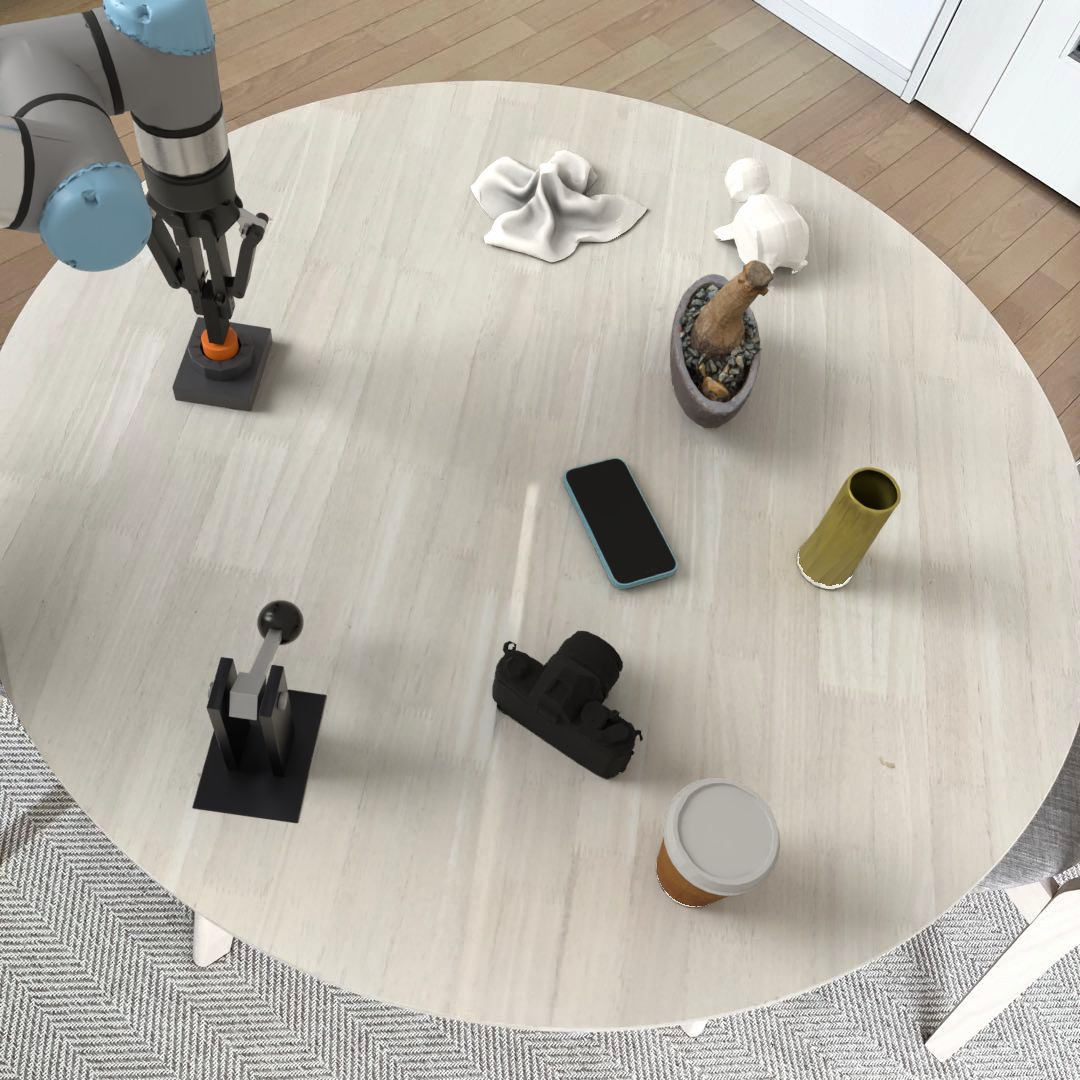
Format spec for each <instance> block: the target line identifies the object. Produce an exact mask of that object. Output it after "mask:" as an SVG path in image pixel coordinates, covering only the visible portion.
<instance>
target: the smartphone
mask: <svg viewBox="0 0 1080 1080" xmlns="http://www.w3.org/2000/svg"><path fill="white" fill-rule="evenodd" d="M563 484H564V487H565V489H566V491H567V493H568V495H569V497H570V499H571V501H572V503H573V505H574V508H575V509H576V511H577V513H578V515H579V517H580V520H581V522H582V524H583V527H584V528H585V530H586V532H587V534H588V536H589V539H590V541H591V543H592V545H593V547H594V549H595V551H596V553H597V555H598V557H599V559H600V562H601V564H602V565H603V567H604V570H605V572H606V574H607V576H608V578H609V581H610V582H611V584H612V585H613V586H614V587H615V588H617V589H619V590H628V589H630V588H634V587H637V586H641V585H643V584H647V583H650V582H653V581H657V580H658V581H659V580H660V579H664V578H668V577H671V576H673V575H674V574H675V573H676V571H677V568H678V561H677V558H676V556H675V554H674V552H673V550H672V549H671V546H670V544H669V543H668V541H667V539H666V537H665V535H664V533H663V531H662V530H661V528H660V525H659V523H658V522H657V520H656V518H655V515H654V514H653V512H652V510H651V508H650V507H649V505H648V503H647V500H646V499H645V497H644V495H643V492H642V491H641V489H640V487H639V485H638V483H637V481H636V479H635V477H634V476H633V474H632V471H631V470H630V468H629V465H628V464H627V463H626V460H625V461H624V459H623V458H620V457H610V458H607V459H603V460H599V461H595V462H592V463H587V464H584V465H580V466H576V467H572V468H569V469H567V470H566V471H565V472H564V475H563Z"/></svg>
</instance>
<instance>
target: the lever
mask: <svg viewBox="0 0 1080 1080" xmlns="http://www.w3.org/2000/svg"><path fill="white" fill-rule="evenodd" d="M304 625H305V619H304V615H303V613H302V611H301V609H300V608H299V606H297V605H296V604H295V603H294V602H292V601H289V600H286V599H276V600H273V601H270V602H268V603H266V604H265V605H264V606H263V607H262V609H261V610H260V611H259V613H258V616H257V620H256V626H257V631H258V633H259V635H260V637H261V638H262V639H263V641H262V644H261V647H260V648H259V651H258V653H257V655H256V657H255V659H254V662H253V664H252V666H251V668H250V671H249V672H244V671H239V672H238V673H237V675H238V676H237V678H236V680H235V682H234V684H233V686H232V688H231V691H230V702H229V716H230V717H237V718H244V719H251V720H257V718H258V716H259V711H260V707H261V703H262V699H263V696H264V692H265V688H266V684H267V680H268V675H267V674H268V672H269V670H270V668H271V665H272V663H273V660H274V658H275V655H276V653H277V651H278V649H279V646H286V645H290V644H292V643H294V641H296V640H297V639H298V638H299V637H300V636H301V634H302V632H303V631H304Z"/></svg>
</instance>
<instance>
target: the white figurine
mask: <svg viewBox="0 0 1080 1080" xmlns="http://www.w3.org/2000/svg"><path fill="white" fill-rule="evenodd" d="M724 185H725V189H726V191H727V192H728V194H729V197H730V200H731V202H732V203H736V204H742V205H741V206H740V208H739V209H738V211H737V212H736V214H735V215H734V219H733V221H732V222H729V224H725V225H722V226H719V227H718V228H716V229H714V231H713V232H714V233H715V234H716V235H717V236H718V238H720V239H721V240H720V241H724V242H725V241H730V240H734V243H735V246H736V248H737V252H738V257H739V259H740V260H741V262H742V263H743V264H744V265H746V264H747V263H749V262H750V261H753V260H757V261H759V262H762V263H764V264H766V265H767V267H768V268H769V269H770V271H771V273H772V275H773V276H774V271H775V270H776V269H777V268H779V267H780V268H781V267H783V268H791V271H792V270H793V271H794V272H795V271H799V270H800V271H802V270H803V268H804V267H805V266H807V265H808V263H809V262H808V261H807V260H806V259H805V258H806V257H807V256H808V253H809V245H810V244H809V243H810V242H809V241H810V229H809V225H808V224H807V222H806V220H805V219H804V217H802V215H801V214H799V212H798V211H797V210H796V208H795V206H794V205H793V204H791V203H790V202H789V201H787V200H786V199H785V198H784V197H783V196H780V195H775V194H770V193H766V192H767V191H768V189H769V187H770V185H771V180H770V173H769V170H768V167H767V164H766V163H765V162H764V161H763V160H762V159H759V158H757V157H756V158H755V157H744V158H743V157H742V158H740V159H738V160H736V161H734V162H733V163H732V164H731V165H730V166H729V168H728V169H727V171H726V174H725V177H724ZM714 233H713V234H714ZM800 271H799V272H800Z"/></svg>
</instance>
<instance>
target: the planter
mask: <svg viewBox="0 0 1080 1080" xmlns="http://www.w3.org/2000/svg"><path fill="white" fill-rule="evenodd" d="M773 280H775V278H774V274H773V275H772V273H771V271H770V269H769V268H768V267H767V265H766V264H764V263H762V262H759V261H757V260H753V261H750V262H749V263H747V264H744V265H743V269H742V271H740V272H739V273H737V274H736V275H735V276H734V277H732V279H730V280H728V279H727V278H726V277H725V276H724V275H720V274H717V273H710V274H706V275H704V276H702V277H700V278H699V279H697V280H695V281H694V283H693V284H692V285H690V286H689V287H688V288H687V289H686V291H684V293H683V295H682V296H681V298H680V300H679V303H678V306H677V307H676V310H675V313H674V317H673V322H672V326H671V327H672V328H671V334H670V335H671V336H670V348H669V364H670V376H671V378H670V379H671V383H672V388H673V392H674V395H675V398H676V400H677V402H678V404H679V406H680V407H681V409H682V411H683V412H684V414H685V415H686V416H687V417H688V419H690V420H691V421H692V422H693V423H695V424H697V425H698V426H701V427H702V428H704V429H708V430H713V429H717V428H719V427H722V426H723V425H724V426H725V424H727V423H729V422H730V421H732V419H734V418H735V417H736V416H737V415H738V414H739V413H740V412H741V410H742V408H743V407H744V406H745V405H746V402H747V401H748V399H749V397H750V395H751V393H752V391H753V389H754V386H755V383H756V380H757V377H758V373H759V370H760V362H761V350H762V347H761V337H760V331H759V324H758V321H757V320H756V317H755V314H754V311H753V310H752V309H751V307H750V306H751V305H752V304H753V302H754V301H755V300H756V298H757V297H758V296H759V295H760V296H762V297H765V296H766V295H767V294H768V292H769V291H770V290H769V288H768V287H769V285H770V284H771V282H772V281H773ZM695 383H698V384H697V385H696V384H695Z"/></svg>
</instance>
